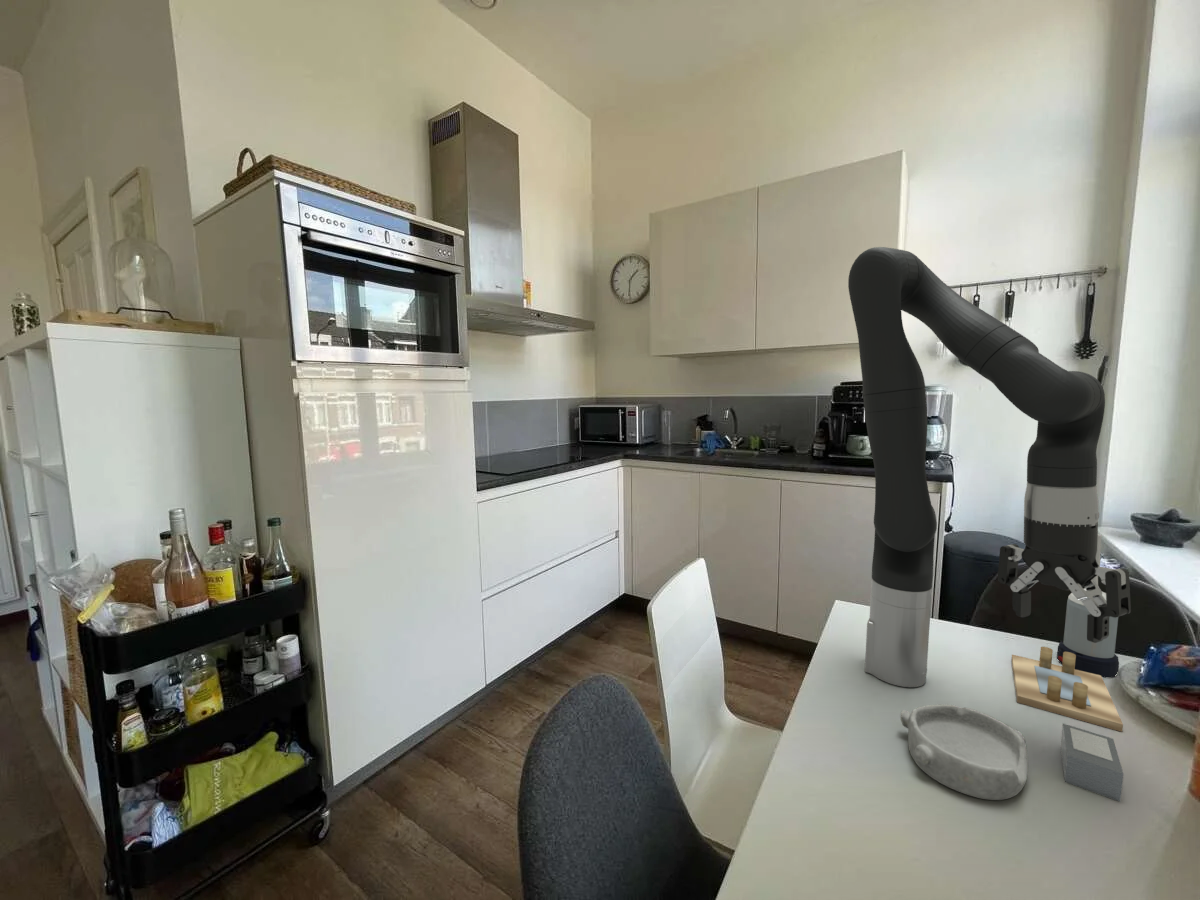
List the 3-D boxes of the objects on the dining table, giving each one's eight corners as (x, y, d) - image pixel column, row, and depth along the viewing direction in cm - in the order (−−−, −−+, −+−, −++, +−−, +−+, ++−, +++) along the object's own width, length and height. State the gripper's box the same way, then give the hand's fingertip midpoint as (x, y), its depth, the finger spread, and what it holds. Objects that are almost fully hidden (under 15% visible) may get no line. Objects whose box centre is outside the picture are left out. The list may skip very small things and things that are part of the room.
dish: (1018, 752, 69) (1020, 719, 69) (1044, 825, 58) (1048, 787, 57) (898, 719, 77) (900, 689, 76) (900, 778, 65) (902, 743, 64)
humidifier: (1051, 663, 92) (1063, 533, 89) (1062, 649, 97) (1074, 526, 94) (1113, 683, 85) (1128, 544, 83) (1121, 667, 90) (1136, 535, 88)
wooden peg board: (1122, 731, 73) (1125, 702, 73) (1017, 702, 80) (1019, 675, 80) (1100, 682, 86) (1103, 656, 85) (1011, 660, 93) (1013, 636, 92)
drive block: (1064, 783, 64) (1067, 754, 63) (1060, 749, 70) (1062, 722, 70) (1120, 803, 61) (1123, 773, 60) (1110, 765, 67) (1113, 738, 66)
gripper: (986, 509, 74) (985, 613, 75) (1109, 531, 60) (1105, 657, 62) (1020, 503, 76) (1019, 604, 77) (1146, 522, 62) (1141, 644, 64)
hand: (1057, 627), depth 69 cm, fingers open, 8 cm apart
